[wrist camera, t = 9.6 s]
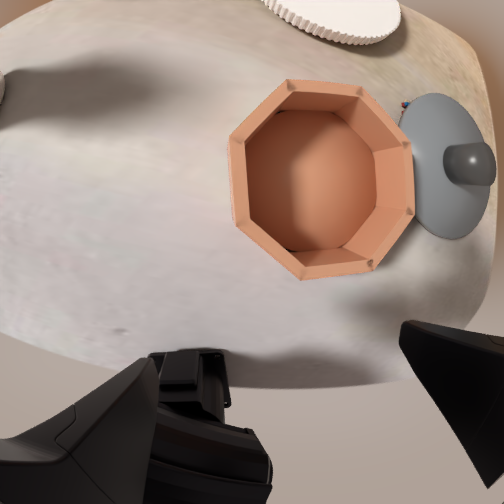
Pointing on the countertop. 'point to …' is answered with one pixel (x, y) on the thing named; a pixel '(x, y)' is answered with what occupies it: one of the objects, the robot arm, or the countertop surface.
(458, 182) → the cover
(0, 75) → the plastic bottle
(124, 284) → the countertop surface
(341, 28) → the plastic lid
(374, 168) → the bowl
